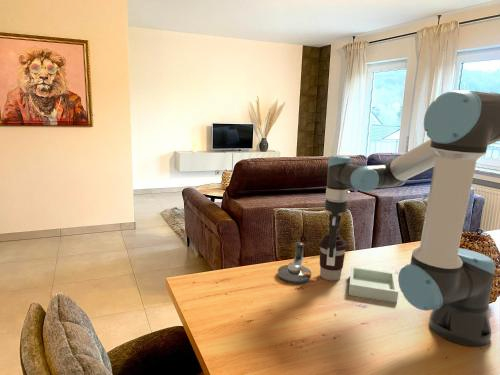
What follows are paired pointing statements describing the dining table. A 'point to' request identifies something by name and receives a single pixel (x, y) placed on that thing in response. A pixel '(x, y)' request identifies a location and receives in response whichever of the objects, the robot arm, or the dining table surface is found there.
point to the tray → (373, 284)
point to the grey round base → (295, 275)
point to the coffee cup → (335, 271)
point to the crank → (297, 259)
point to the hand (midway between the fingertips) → (331, 259)
